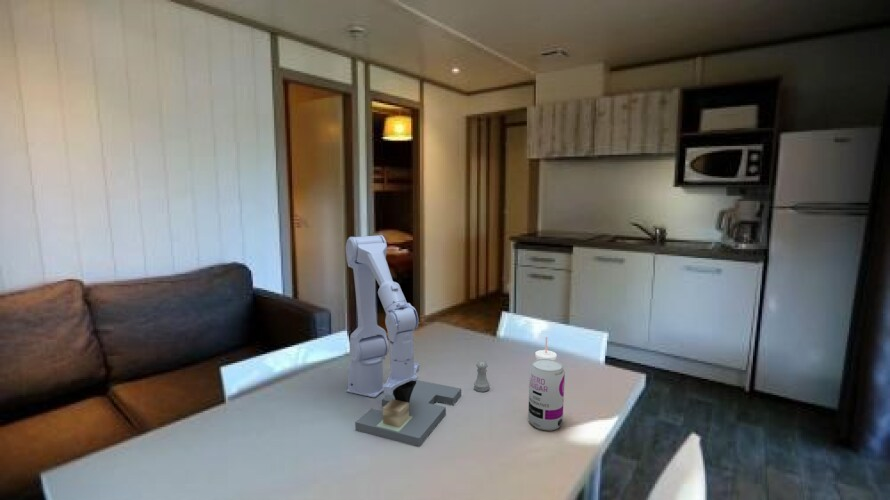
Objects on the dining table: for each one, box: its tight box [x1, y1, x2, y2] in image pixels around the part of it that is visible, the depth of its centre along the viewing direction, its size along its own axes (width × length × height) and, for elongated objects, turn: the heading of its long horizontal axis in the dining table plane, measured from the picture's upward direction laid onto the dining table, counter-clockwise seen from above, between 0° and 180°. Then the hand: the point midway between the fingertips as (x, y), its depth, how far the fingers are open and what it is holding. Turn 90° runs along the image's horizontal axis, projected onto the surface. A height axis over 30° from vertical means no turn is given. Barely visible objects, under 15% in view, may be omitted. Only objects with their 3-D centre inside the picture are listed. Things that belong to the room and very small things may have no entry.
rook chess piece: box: [473, 360, 490, 393], centre depth 123 cm, size 4×4×8 cm
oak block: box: [382, 399, 409, 428], centre depth 103 cm, size 4×4×4 cm
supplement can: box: [527, 359, 566, 432], centre depth 105 cm, size 8×8×15 cm
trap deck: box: [354, 379, 462, 447], centre depth 111 cm, size 17×26×2 cm, turn 157°
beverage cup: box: [534, 336, 557, 361], centre depth 126 cm, size 6×6×14 cm
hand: (402, 409), depth 106 cm, fingers closed
